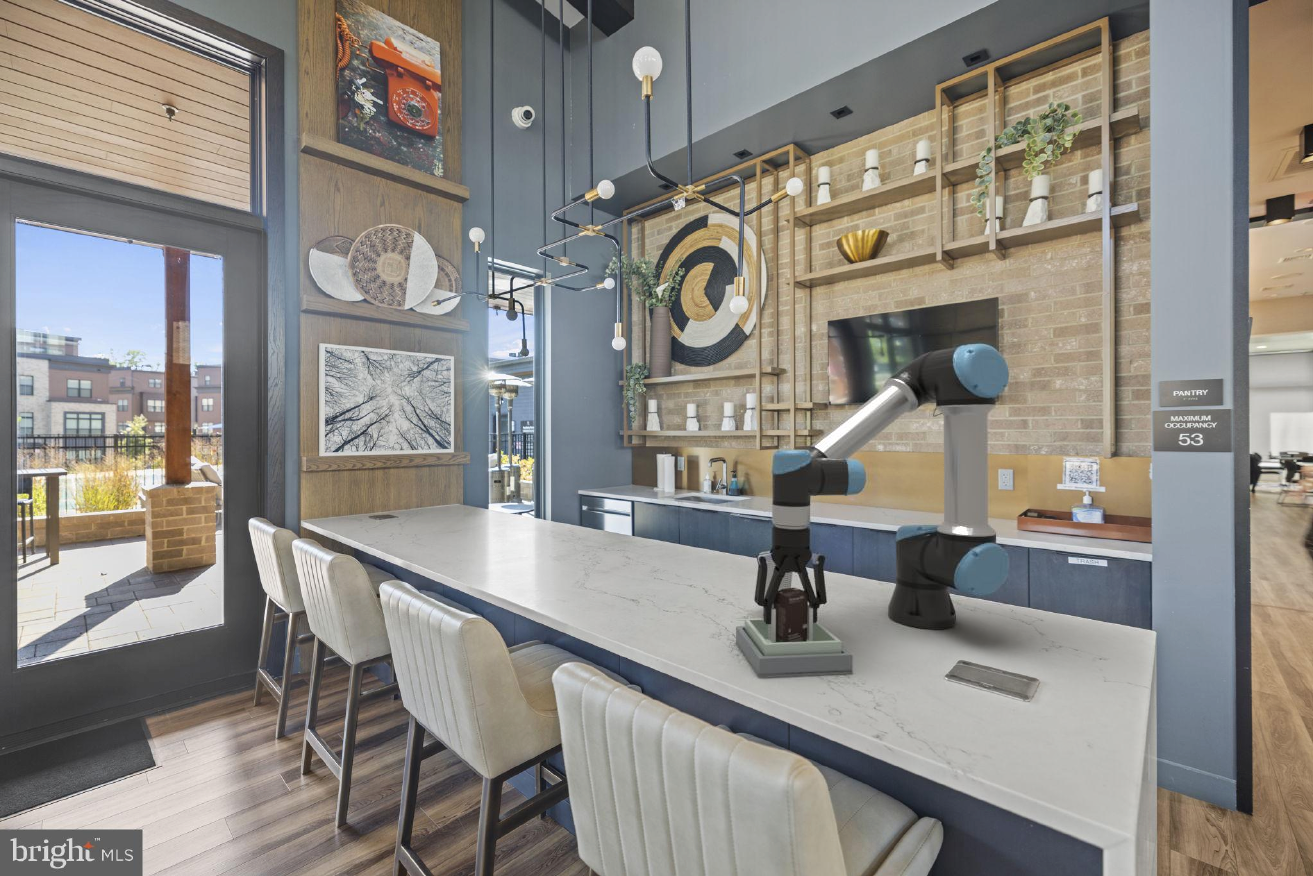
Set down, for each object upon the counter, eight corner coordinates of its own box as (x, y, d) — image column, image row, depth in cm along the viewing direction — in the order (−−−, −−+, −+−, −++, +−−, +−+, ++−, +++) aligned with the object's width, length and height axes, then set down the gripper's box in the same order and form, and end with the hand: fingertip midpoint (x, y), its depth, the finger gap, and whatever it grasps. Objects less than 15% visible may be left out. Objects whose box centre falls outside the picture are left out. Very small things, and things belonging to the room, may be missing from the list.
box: (788, 656, 114) (788, 596, 114) (771, 649, 117) (771, 590, 117) (809, 650, 117) (809, 591, 117) (792, 643, 121) (792, 586, 121)
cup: (798, 615, 144) (798, 553, 144) (786, 625, 137) (786, 559, 136) (766, 610, 148) (766, 549, 148) (752, 619, 141) (753, 555, 141)
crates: (816, 639, 127) (816, 614, 127) (852, 673, 109) (852, 644, 109) (735, 642, 125) (736, 617, 125) (759, 678, 107) (759, 647, 107)
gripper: (830, 522, 122) (830, 631, 122) (738, 523, 120) (737, 634, 120) (846, 528, 114) (845, 644, 114) (747, 529, 112) (747, 647, 112)
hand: (790, 638), depth 117 cm, fingers closed on box, 7 cm apart
